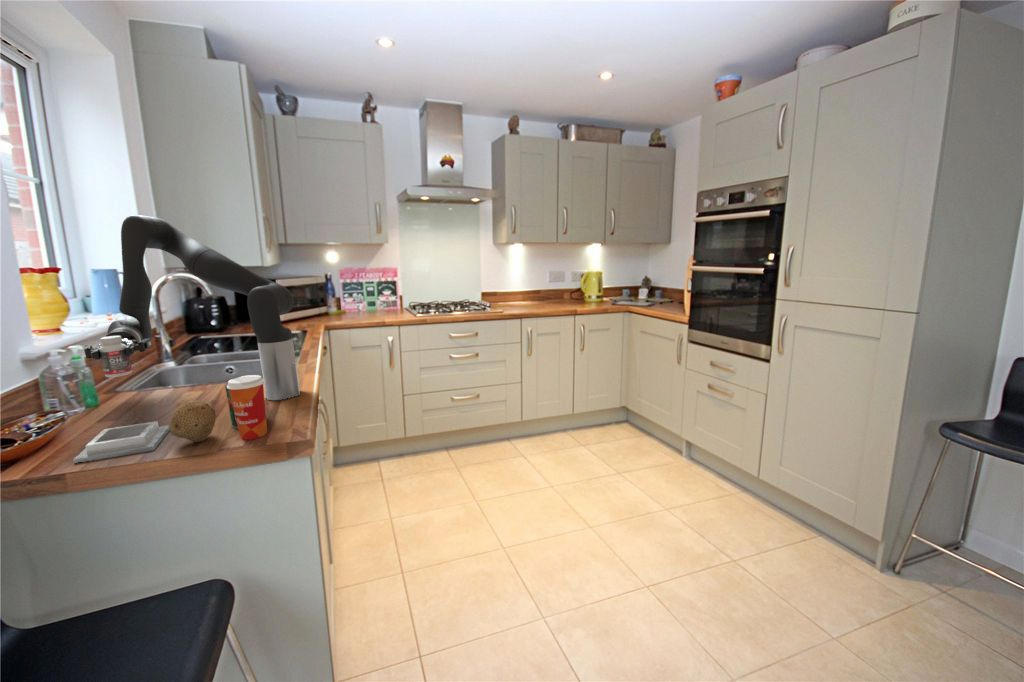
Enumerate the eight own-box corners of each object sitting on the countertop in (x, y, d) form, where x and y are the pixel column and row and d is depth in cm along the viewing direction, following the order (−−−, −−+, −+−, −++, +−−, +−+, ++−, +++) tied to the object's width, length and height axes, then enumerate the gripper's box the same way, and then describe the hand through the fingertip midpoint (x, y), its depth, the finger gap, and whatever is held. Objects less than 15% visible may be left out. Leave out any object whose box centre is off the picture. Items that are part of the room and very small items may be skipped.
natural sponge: (173, 454, 101) (164, 411, 99) (172, 441, 108) (164, 400, 106) (221, 442, 107) (214, 401, 104) (218, 430, 114) (211, 392, 112)
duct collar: (170, 428, 116) (168, 417, 116) (154, 450, 104) (151, 437, 103) (100, 439, 111) (97, 427, 110) (74, 463, 98) (70, 450, 98)
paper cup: (227, 439, 108) (217, 382, 105) (256, 427, 115) (247, 373, 112) (251, 443, 105) (242, 385, 102) (279, 430, 112) (271, 375, 109)
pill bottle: (114, 378, 113) (105, 339, 111) (99, 377, 115) (90, 338, 113) (138, 372, 118) (129, 335, 116) (123, 371, 120) (115, 334, 118)
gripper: (84, 332, 122) (69, 343, 108) (152, 325, 130) (146, 334, 116) (91, 359, 124) (76, 373, 110) (157, 351, 132) (152, 363, 118)
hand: (112, 353), depth 113 cm, fingers closed on pill bottle, 5 cm apart
